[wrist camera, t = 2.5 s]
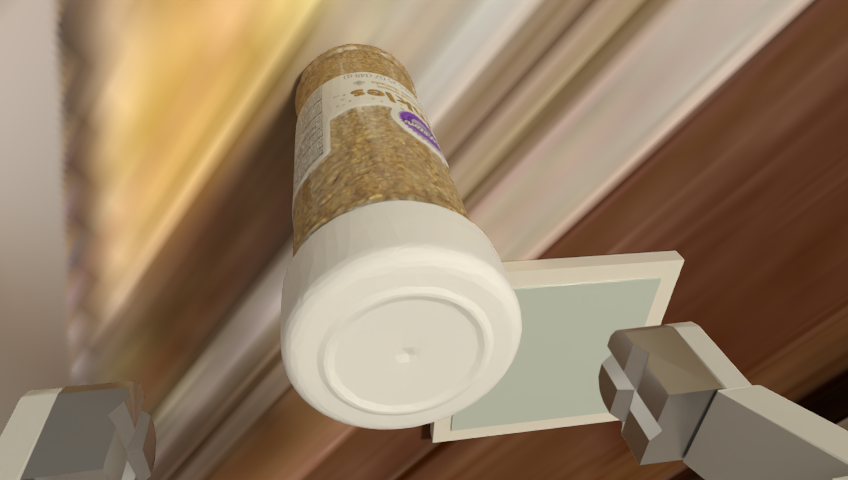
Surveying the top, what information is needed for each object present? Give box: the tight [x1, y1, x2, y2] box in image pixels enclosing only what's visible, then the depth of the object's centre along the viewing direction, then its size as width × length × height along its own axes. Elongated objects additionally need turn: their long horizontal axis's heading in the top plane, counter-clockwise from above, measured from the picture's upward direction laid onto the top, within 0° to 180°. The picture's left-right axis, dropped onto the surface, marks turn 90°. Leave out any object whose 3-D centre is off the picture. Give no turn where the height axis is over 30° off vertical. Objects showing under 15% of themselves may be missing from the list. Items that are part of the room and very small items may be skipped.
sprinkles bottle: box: [281, 44, 522, 429], centre depth 16 cm, size 5×5×13 cm
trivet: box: [430, 251, 684, 443], centre depth 30 cm, size 12×12×1 cm
